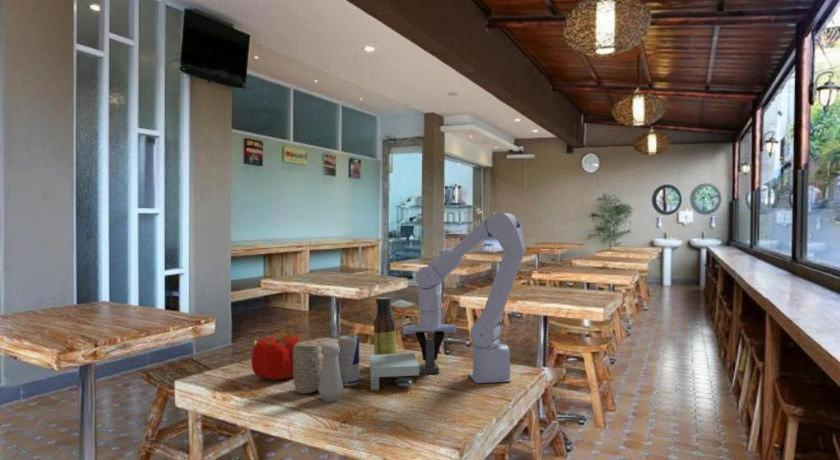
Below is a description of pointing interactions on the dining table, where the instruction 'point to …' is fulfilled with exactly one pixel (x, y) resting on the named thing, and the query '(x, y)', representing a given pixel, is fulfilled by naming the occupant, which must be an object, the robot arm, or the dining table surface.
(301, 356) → the carving
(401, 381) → the token
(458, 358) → the dining table surface
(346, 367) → the energy drink
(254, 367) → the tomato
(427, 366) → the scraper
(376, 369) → the pale grey angled bracket
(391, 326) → the sauce bottle
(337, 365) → the salt shaker
